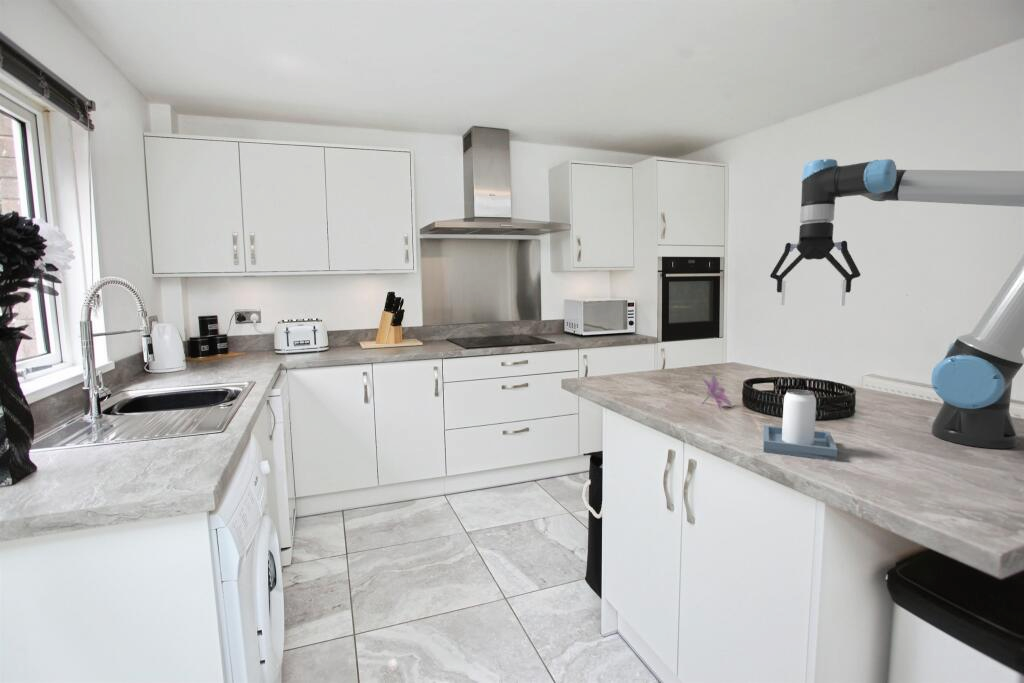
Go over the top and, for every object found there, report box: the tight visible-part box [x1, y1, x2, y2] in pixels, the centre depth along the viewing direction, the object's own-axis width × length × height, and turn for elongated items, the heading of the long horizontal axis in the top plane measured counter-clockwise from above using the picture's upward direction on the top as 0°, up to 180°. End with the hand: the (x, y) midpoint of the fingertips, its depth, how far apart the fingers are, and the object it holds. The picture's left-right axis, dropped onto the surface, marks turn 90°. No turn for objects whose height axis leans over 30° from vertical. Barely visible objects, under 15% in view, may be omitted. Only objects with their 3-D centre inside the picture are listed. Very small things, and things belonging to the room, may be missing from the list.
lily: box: [701, 372, 734, 410], centre depth 155 cm, size 12×12×10 cm
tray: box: [763, 424, 838, 462], centre depth 117 cm, size 14×14×2 cm
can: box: [781, 388, 817, 445], centre depth 117 cm, size 6×6×12 cm
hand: (811, 305), depth 134 cm, fingers open, 13 cm apart
